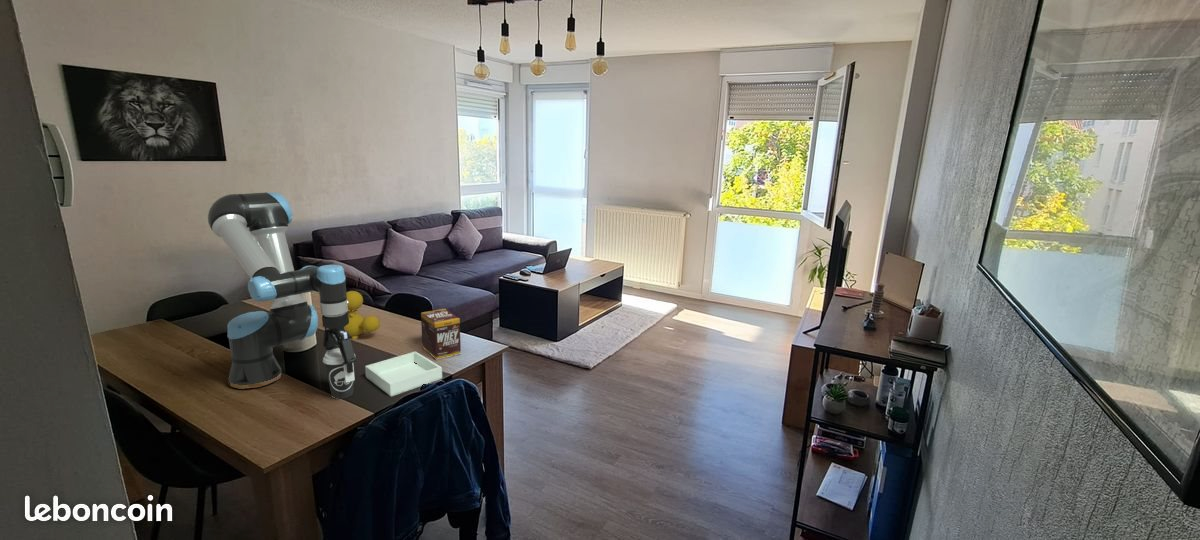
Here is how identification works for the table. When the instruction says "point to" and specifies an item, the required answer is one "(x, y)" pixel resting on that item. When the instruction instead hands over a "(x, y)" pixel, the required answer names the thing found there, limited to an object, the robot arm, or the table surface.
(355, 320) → the toy
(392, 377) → the bin
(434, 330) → the supplement box
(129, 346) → the table surface
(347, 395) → the coffee cup
